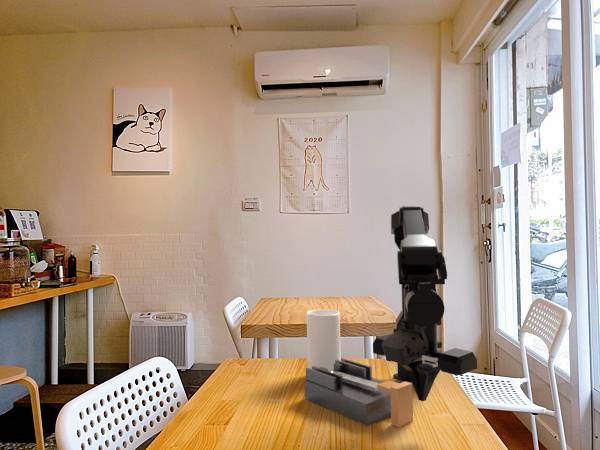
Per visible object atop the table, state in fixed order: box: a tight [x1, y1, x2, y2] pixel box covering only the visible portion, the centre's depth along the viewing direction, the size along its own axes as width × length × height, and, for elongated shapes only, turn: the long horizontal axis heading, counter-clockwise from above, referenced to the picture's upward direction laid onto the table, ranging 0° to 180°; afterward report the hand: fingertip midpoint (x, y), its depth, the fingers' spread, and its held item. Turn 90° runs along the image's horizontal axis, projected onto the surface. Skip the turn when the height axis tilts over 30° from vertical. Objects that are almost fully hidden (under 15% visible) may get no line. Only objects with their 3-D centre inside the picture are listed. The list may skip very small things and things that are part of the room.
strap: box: [330, 370, 381, 392], centre depth 95 cm, size 14×3×1 cm, turn 39°
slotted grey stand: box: [303, 357, 391, 427], centre depth 94 cm, size 12×18×6 cm, turn 39°
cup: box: [306, 308, 342, 371], centre depth 112 cm, size 8×8×16 cm
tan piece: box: [377, 380, 414, 428], centre depth 86 cm, size 4×5×7 cm
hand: (422, 400), depth 81 cm, fingers closed
